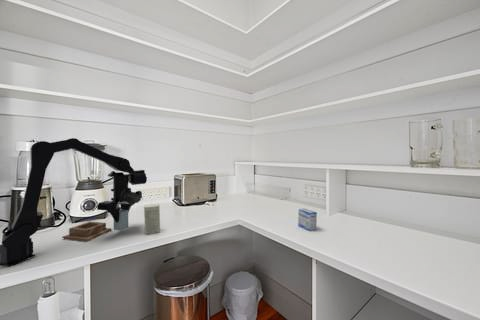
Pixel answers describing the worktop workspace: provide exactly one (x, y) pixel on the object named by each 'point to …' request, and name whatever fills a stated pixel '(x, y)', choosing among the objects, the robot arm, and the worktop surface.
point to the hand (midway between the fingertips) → (121, 220)
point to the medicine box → (307, 219)
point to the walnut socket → (87, 231)
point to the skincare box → (152, 218)
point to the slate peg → (122, 221)
